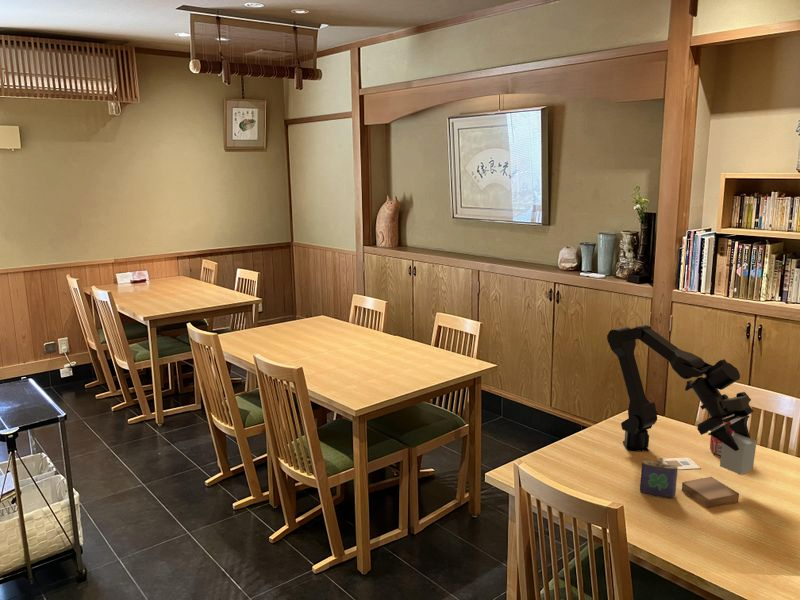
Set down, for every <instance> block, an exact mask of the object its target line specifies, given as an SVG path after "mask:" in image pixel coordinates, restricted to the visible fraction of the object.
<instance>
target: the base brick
mask: <svg viewBox="0 0 800 600" xmlns="http://www.w3.org/2000/svg"><path fill="white" fill-rule="evenodd" d="M681 483H682V484H681V491H682V492H683V493H685V494H686V495H687V496H689V497H690V498H691V499H693V500H695V501H697V502H698V503H700V505H702V506H704V507H705V508H707V509H712V508H717V507H721V506H727V505H732V504H736V503H739V500H740V499H739V498H740V493H739V492H738V491H736V490H734V489H732V488H731V487H730V486H728V485H726V484H724V483H722V482H721V481H719V480H718V479H716V478H715V477H712V476H707V477H703V478H697V479H696V478H695V479H692V480H685V481H682V482H681Z"/></svg>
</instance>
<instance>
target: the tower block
mask: <svg viewBox="0 0 800 600" xmlns="http://www.w3.org/2000/svg"><path fill="white" fill-rule="evenodd" d="M732 437H733V439H734V440H735V442H736V444H737V446H738V448H739V450H737V451H735V450H733V449H732V448H730V447H729V446H727V445H726V444H724V443H723V444H722V452H721V456H720V463H719V467H721V468H723V469H725V470H728V471H730V472H733V473H735V474H737V475H739V476H740V475H741V476H742V475H744V474H746V473H748V472H750V471H752V470H754V465H755V458H756V457H755V456H756V448H757V440H755V439H752V438H751V437H750V438H748V437H745V436H742V435H740V434H737V433H734V434H732Z"/></svg>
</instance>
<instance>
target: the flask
mask: <svg viewBox="0 0 800 600" xmlns="http://www.w3.org/2000/svg"><path fill="white" fill-rule="evenodd" d="M657 459H658V460H657V461H651V460H650V459H649V460H643V461H641V469H640V482H639V492H640V494H643V495H647V496H651V497H658V498H664V499H674V498H675V497H676V494H677V493H676V491H677V481H678V479H677V478H678V468H677V466H675V465H667V464H663V463H662V462H663V459H664V458H661V457H660V458H657Z"/></svg>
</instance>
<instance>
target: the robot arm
mask: <svg viewBox="0 0 800 600" xmlns="http://www.w3.org/2000/svg"><path fill="white" fill-rule="evenodd" d="M606 340H607V343H608V345H609V347H610V350H611V351H612V352H613V354H615V356H616V357H617V359H618V362H619V366H620V369H621V370H620V371H621V373H622V377H623V380H624V384H625V388H626V391H627V395H628V400H629V403H628V408H627V415H628V418H627V419H625V420H624V421H622V422H621V423H620V425H621V430H622V431H624V440H622V444H623V446H624V448H625V449H626V450H627V451H629V452H649V449H648V447H649V444H650V443H649V442H650V434H649V433H648V432H649V431H648V430H650V429H652V428H653V426H654V425H655V424H656V423H657V421H658V415H659V413H658V411H657V409H656V408H657V407H656V403H655V402H651V401H649V400H648V398H647V397H646V393H645V390H644V386H643V381H642V378H641V375H640V372H639V368H638V364H637V360H636V357H635V350H636V345H637V342H636V340H639V341H640V342H642V343H643V344H645V345H646V346H647V347H649V348H650V349H651V350H652V351H654V352H655V353H657V354H658V355H659V356H661V358H663V359H664V360H666V361H667V362H668V363H669V364H670V366H671V368H672V370H673V371H674V372H675V373H676V374H677V375H678V376H679V377H680V378H682V379H683V380H687V381H686V386H685V389H684V391H686V392H688V391H691V390H693V392H694V393H695V395H696V396H697V397H698V400H699V401H700V403H701V404H702V405H700V408H701V410H706V411H707V413H708V415H709V416H710V417H709V418H707V419H705V420H703V421H702V422H700V423H698V424H697V427H696V430H697V431H698V433H699V434H700V435H701V436H702V435H705V434H707V435H708V436H710V437H711V436H713V437H714V438H716V439H718V440H719V441H721V442H723V443H724V444H726V445H727V446H729V447H730V448H732V449H733V450H735V451H737V450H739V448H738V446H737V444H736V442H735V440H734V439H733V437H732V435H731V433H730V432H729V427H730V428H731V429H732V430H733V431H734V432H735V433H737V434H740V435H742V436H745V437H748V438H751V436H750V435H751V434H750V432H749V428H748V421H749V418H750V415H752V413H754V412H755V411H754V410H753V408H752V407H751V406H750V402H751V401H752V398H750V396H749V395H748V394H747V393H746V392H745V391H742V392H738V393H736V394H735V395H736V396H733V397H730V398H729V395H728V394H725V393H724V394H722V393H721V391H720V390H725V389H726V388H728V387H729V386H731V385H733V384H734V383H735V382H737V381H739V380H740V378H741V375H740V374H741V373H740V372H739V370H738V369H737V367H735V366H734V365H733V364H732V363H729V362H727V360H726V358H725V359H724V358H723V359H720V360H718V361H717V362H716V363H715V364H710V363H708V362H707V361H706V362H705V361H704V359H703V358H701V357H700V356H698V355H696V354H694V353H692V352H688V351H686V350H685V351H684V350H683V349H681V348H679V347H677V346H676V345H675V344H673V343H671V342H670V341H669V340H667V339H666V338H664V337H663V336H662V335H660V334H659V333H658V332H656V331H655V330H653V329H652V327H651V326H650V325H648V324H643V325H638V326H636V327H632V328H630V327H629V326H623V327H618V328H613V329H611V330H609V331H608V334H607V335H606ZM702 376H705V377H702ZM692 378H695V379H694V380H692ZM689 379H691V380H689ZM728 421H730V423H731V425H729V423H728V424H725V423H726V422H728ZM709 431H710V432H709Z"/></svg>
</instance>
